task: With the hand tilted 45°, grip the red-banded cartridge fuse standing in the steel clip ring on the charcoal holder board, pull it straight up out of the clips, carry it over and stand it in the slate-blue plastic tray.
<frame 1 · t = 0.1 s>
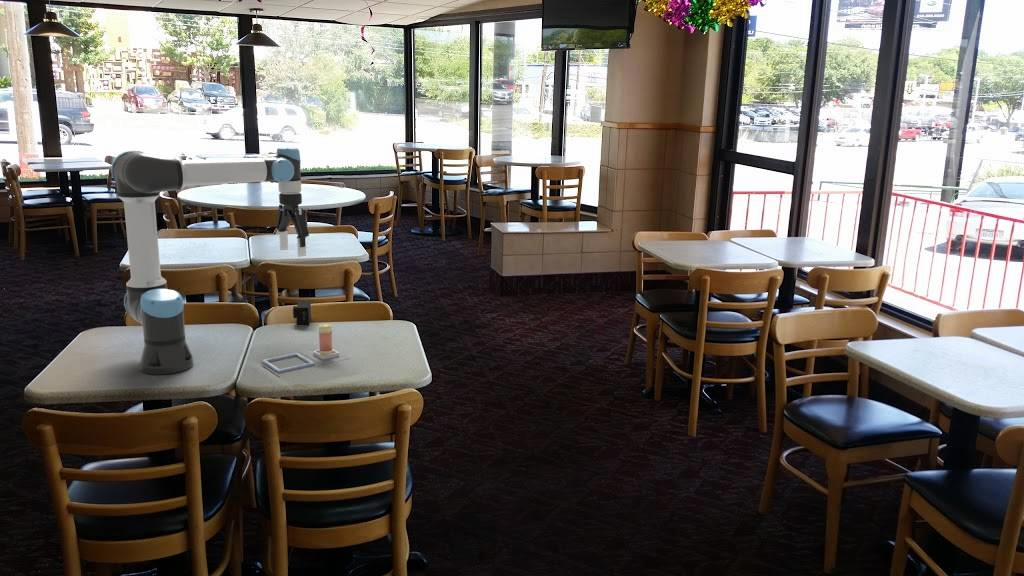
hand: (292, 252, 279), 28 cm above the table, tool pointing down, fingers open, 13 cm apart
digital camera: (302, 322, 294), on the table
fuse holder: (326, 359, 254), on the table
tray: (288, 368, 246), on the table
fuse: (326, 355, 254), point 1 cm above the table, touching fuse holder
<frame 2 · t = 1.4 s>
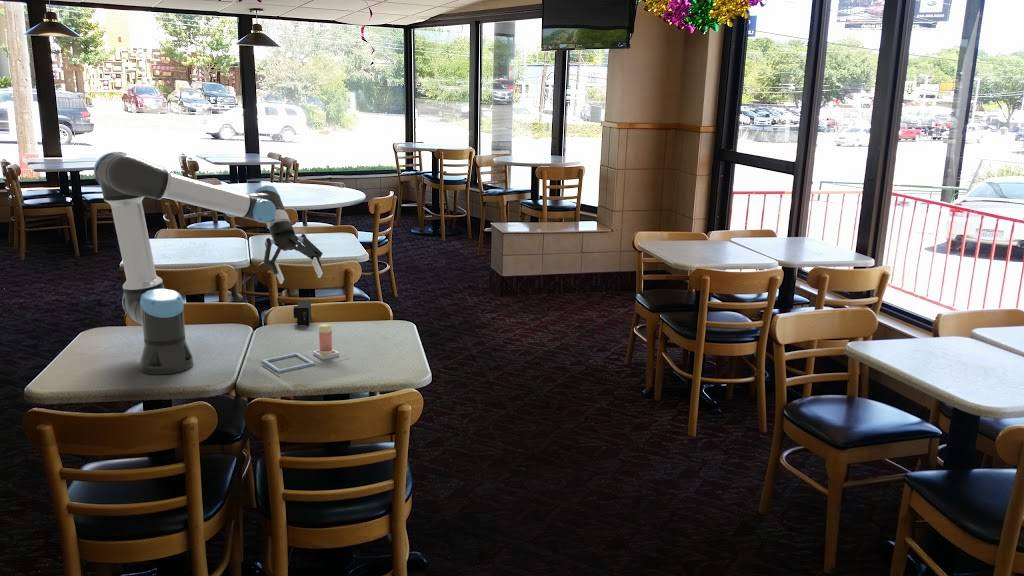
hand: (301, 278, 260), 24 cm above the table, tool tilted 45°, fingers open, 13 cm apart
nothing on the table moved.
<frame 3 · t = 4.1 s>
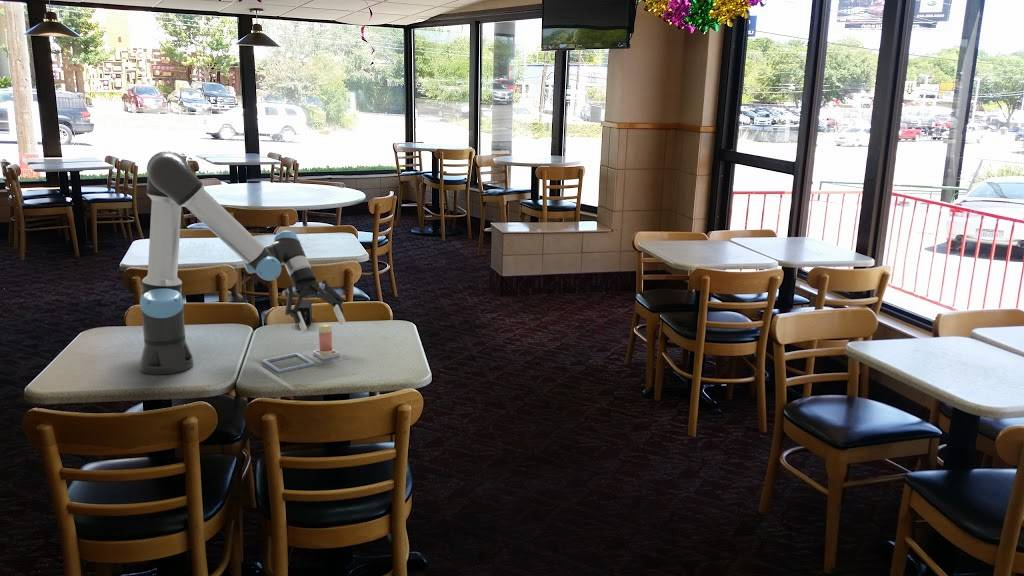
hand: (324, 327, 255), 10 cm above the table, tool tilted 45°, fingers open, 13 cm apart
nothing on the table moved.
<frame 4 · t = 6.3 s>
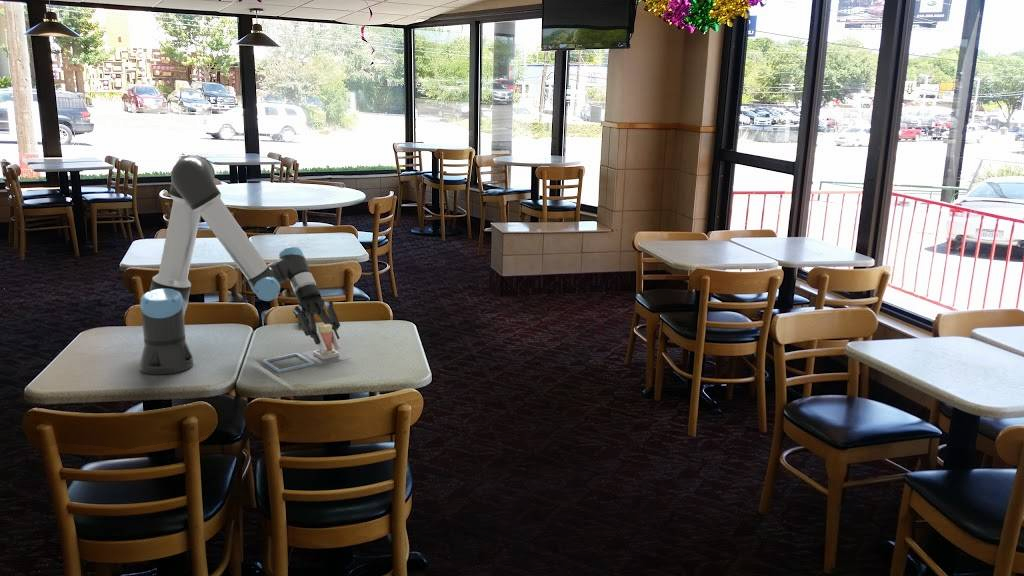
hand: (331, 350, 251), 4 cm above the table, tool tilted 45°, fingers closed on fuse, 4 cm apart
fuse: (326, 355, 254), point 2 cm above the table, touching fuse holder, gripper
everything else where it was.
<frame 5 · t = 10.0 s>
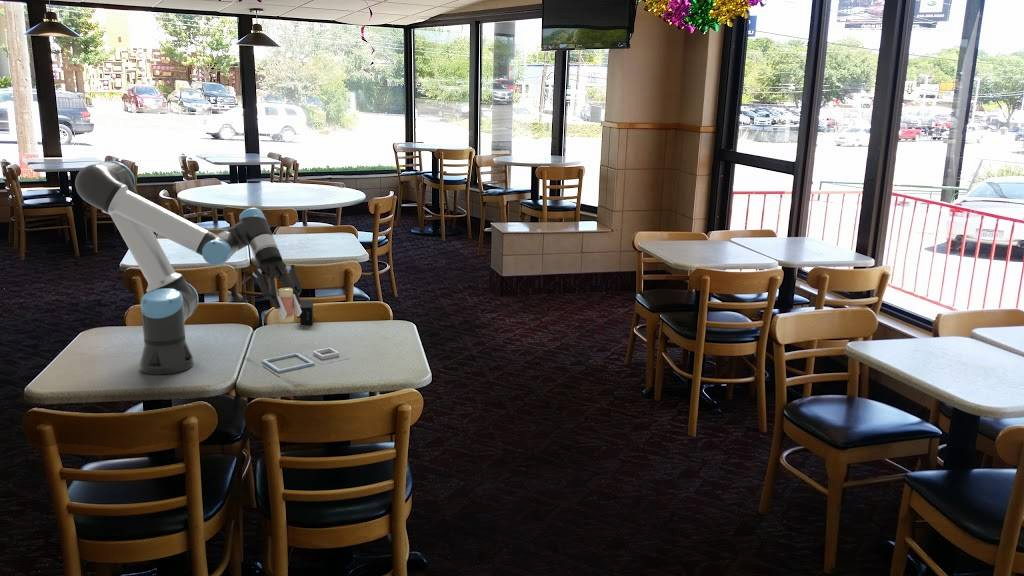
hand: (292, 315, 239), 18 cm above the table, tool tilted 45°, fingers closed on fuse, 4 cm apart
fuse: (286, 320, 243), point 15 cm above the table, touching gripper
when the fingers open (5 cm above the table, at t = 13.5 s): fuse drops 1 cm, resting on tray.
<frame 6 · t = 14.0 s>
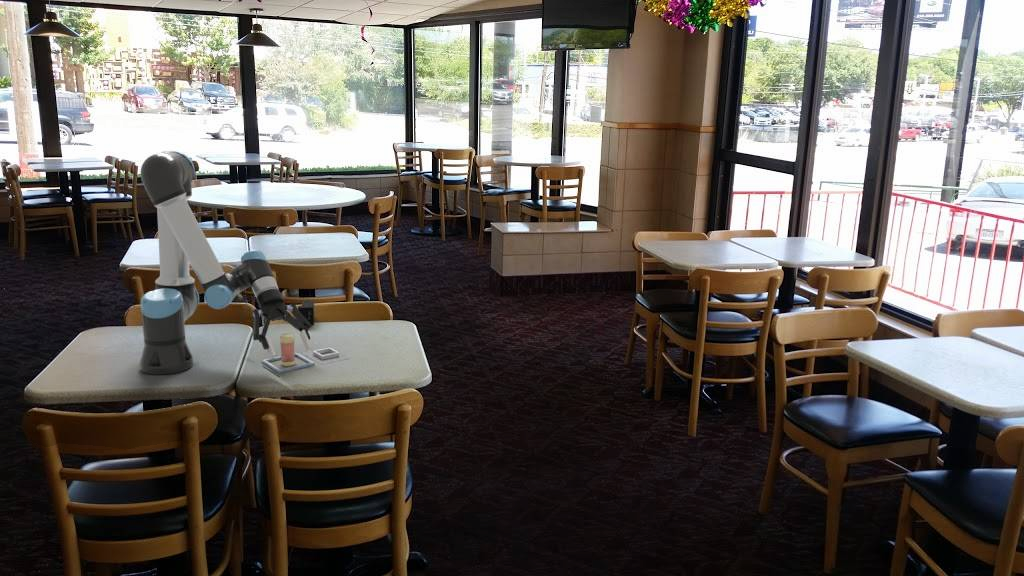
hand: (291, 353, 243), 6 cm above the table, tool tilted 45°, fingers open, 11 cm apart
fuse: (288, 366, 246), point 1 cm above the table, touching tray
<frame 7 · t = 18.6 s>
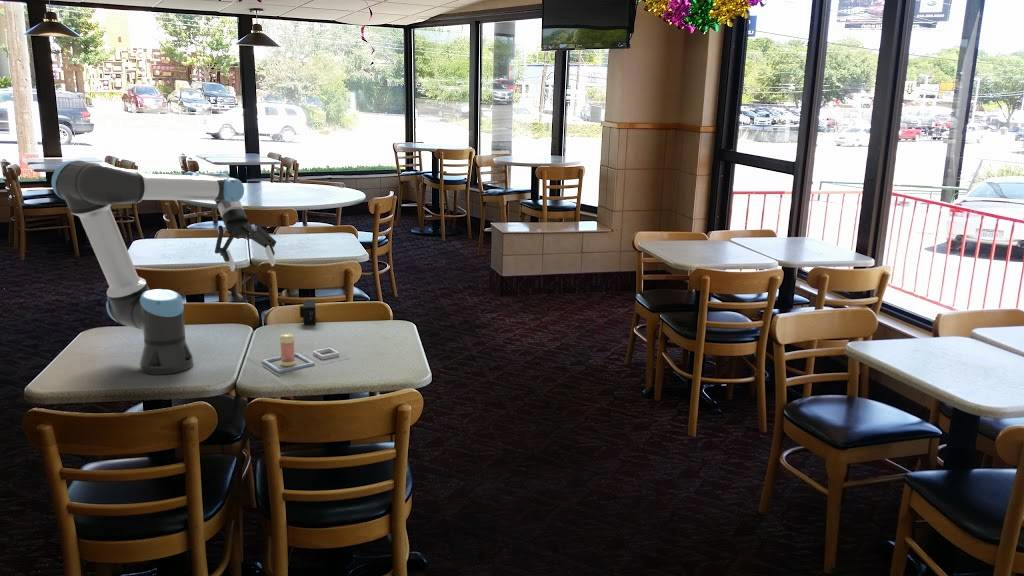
hand: (254, 266, 258), 28 cm above the table, tool tilted 45°, fingers open, 13 cm apart
at the end: fuse inside the target area on the tray (0.0 cm from its centre), point 0.6 cm above the tray's base; the gripper is holding nothing; fuse touching tray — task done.
